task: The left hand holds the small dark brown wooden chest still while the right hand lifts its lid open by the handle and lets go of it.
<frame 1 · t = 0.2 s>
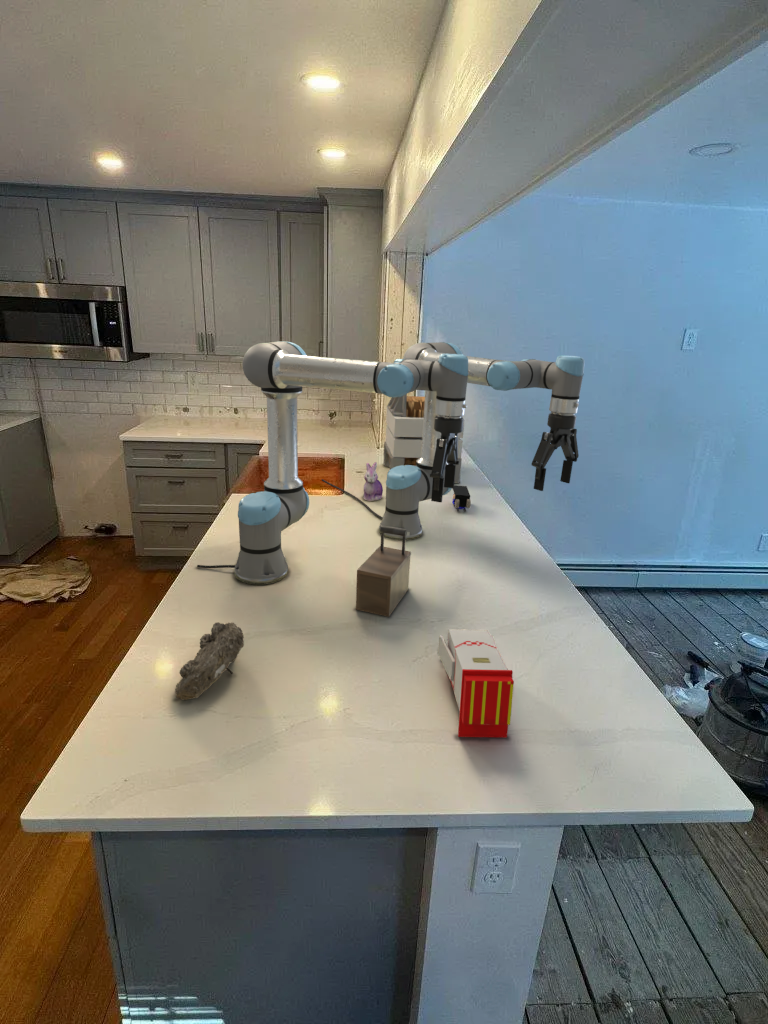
left hand: (442, 494, 154), 28 cm above the counter, tool pointing down, fingers open, 13 cm apart
right hand: (551, 485, 166), 28 cm above the counter, tool pointing down, fingers open, 13 cm apart
fossil: (215, 672, 121), on the counter
chest: (383, 599, 155), on the counter
figurine character: (460, 507, 229), on the counter
toy: (469, 691, 119), on the counter
figurine: (372, 498, 236), on the counter
lid: (385, 549, 150), point 15 cm above the counter, hinge at 0.0°
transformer: (419, 473, 275), on the counter
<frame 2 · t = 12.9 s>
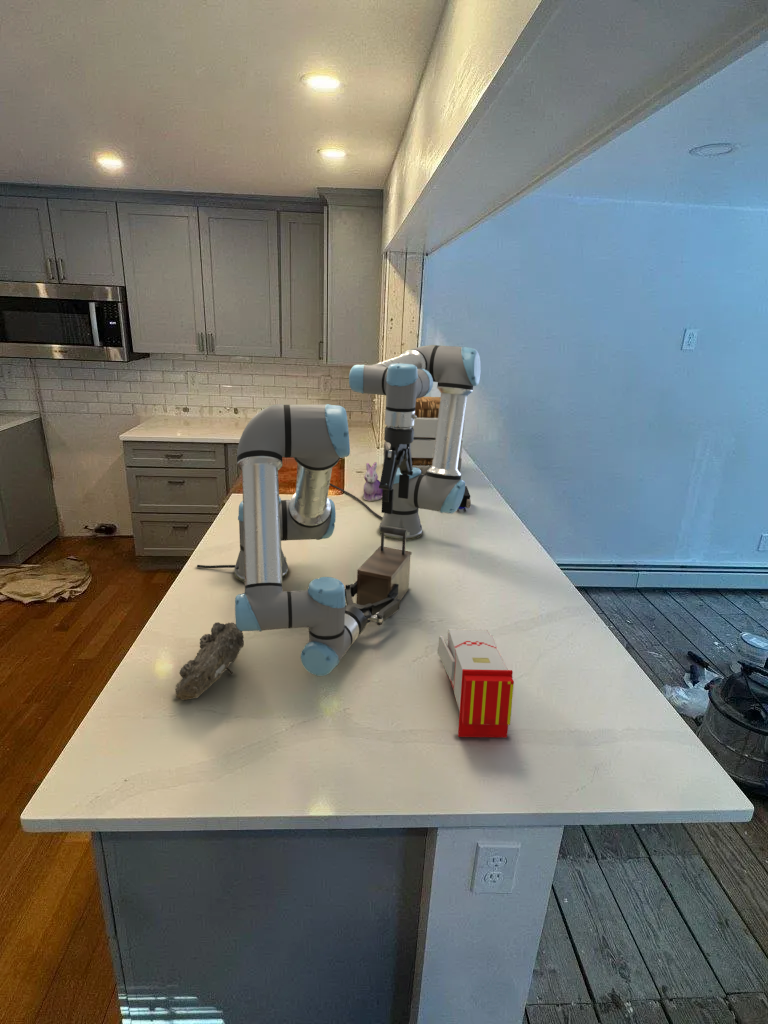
left hand: (378, 585, 149), 6 cm above the counter, tool horizontal, fingers closed on chest, 9 cm apart
right hand: (395, 505, 152), 25 cm above the counter, tool pointing down, fingers open, 13 cm apart
chest: (383, 599, 155), on the counter, touching left hand
everything else where it was.
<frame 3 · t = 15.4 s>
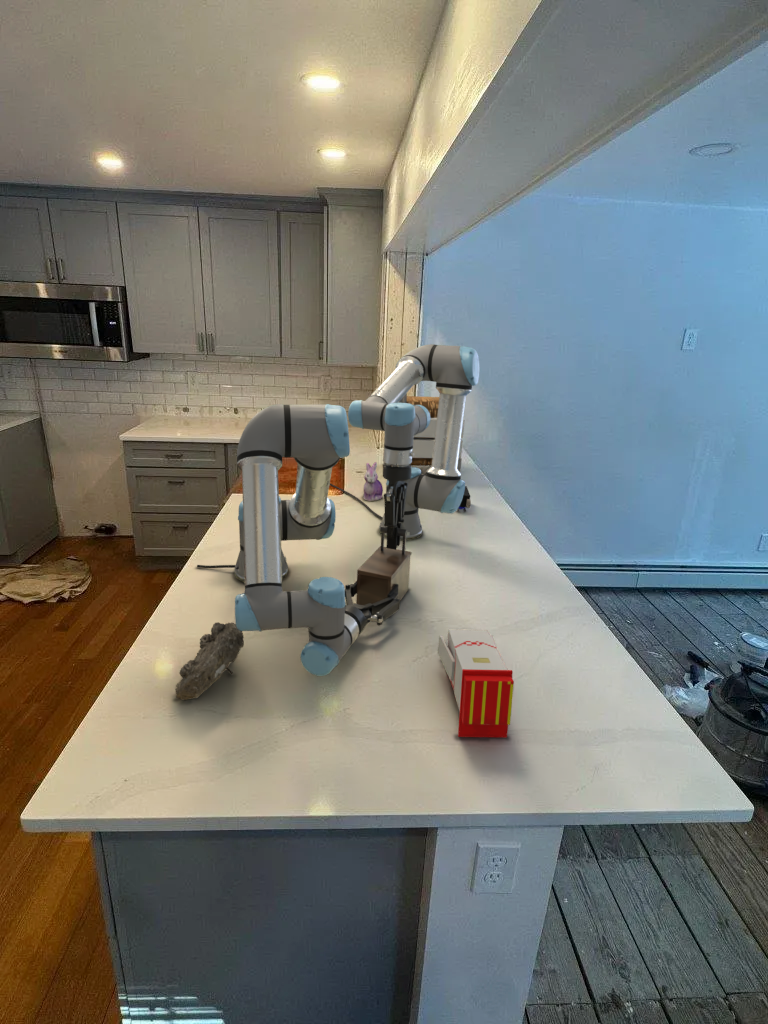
left hand: (378, 585, 149), 6 cm above the counter, tool horizontal, fingers closed on chest, 9 cm apart
right hand: (393, 546, 156), 13 cm above the counter, tool pointing down, fingers closed on lid, 2 cm apart
chest: (383, 599, 155), on the counter, touching left hand
lid: (385, 549, 150), point 15 cm above the counter, hinge at -0.1°, touching right hand
everything else where it was.
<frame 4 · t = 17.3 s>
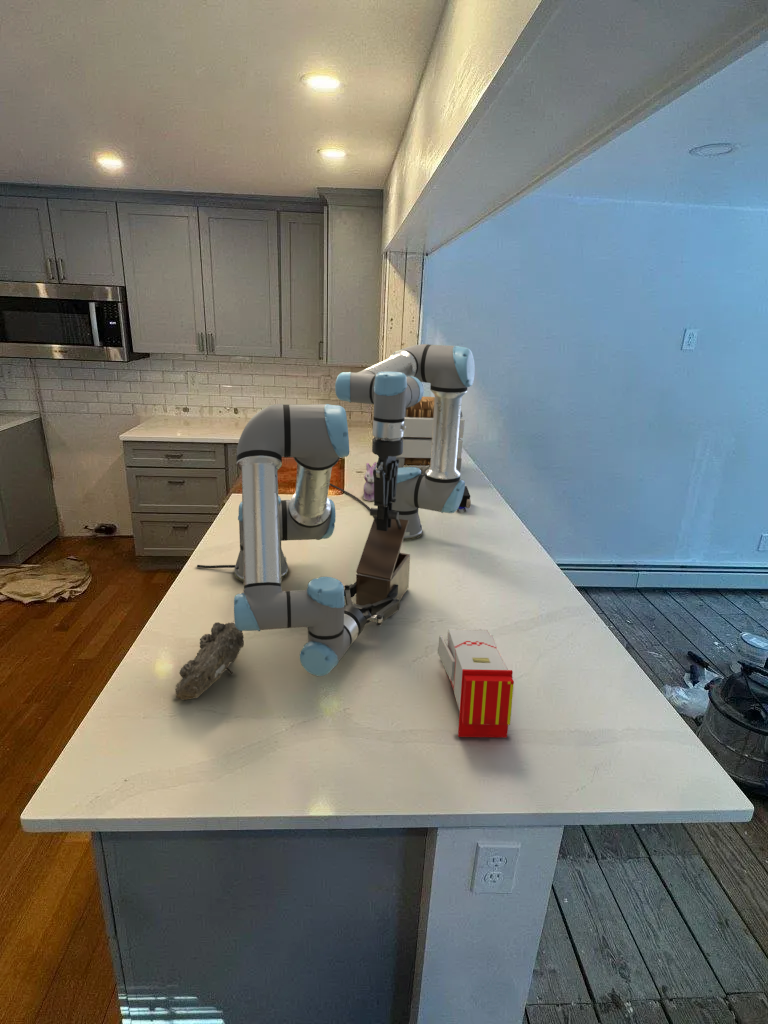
left hand: (378, 585, 149), 6 cm above the counter, tool horizontal, fingers closed on chest, 9 cm apart
right hand: (383, 528, 145), 22 cm above the counter, tool pointing down, fingers closed on lid, 2 cm apart
chest: (383, 598, 154), on the counter, touching left hand
lid: (380, 539, 144), point 19 cm above the counter, hinge at 38.5°, touching right hand
everything else where it was.
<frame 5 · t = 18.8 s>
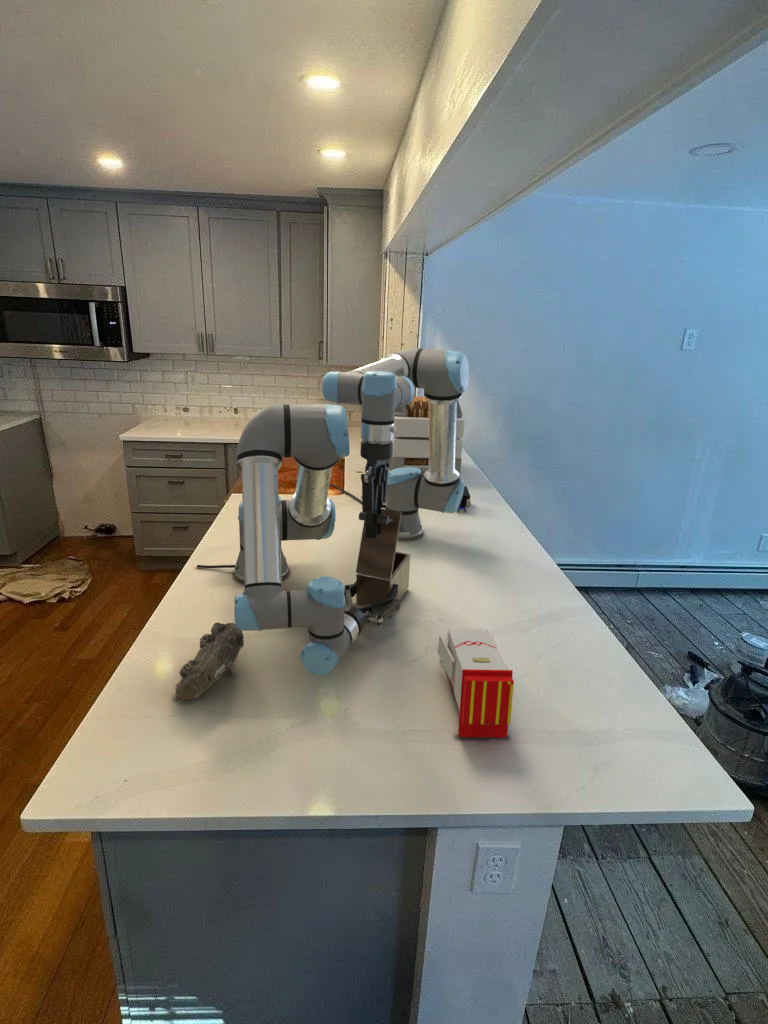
left hand: (378, 585, 149), 6 cm above the counter, tool horizontal, fingers closed on chest, 9 cm apart
right hand: (373, 535, 138), 23 cm above the counter, tool pointing down, fingers open, 2 cm apart
chest: (383, 598, 155), on the counter, touching left hand
lid: (374, 542, 140), point 20 cm above the counter, hinge at 66.5°
everything else where it was.
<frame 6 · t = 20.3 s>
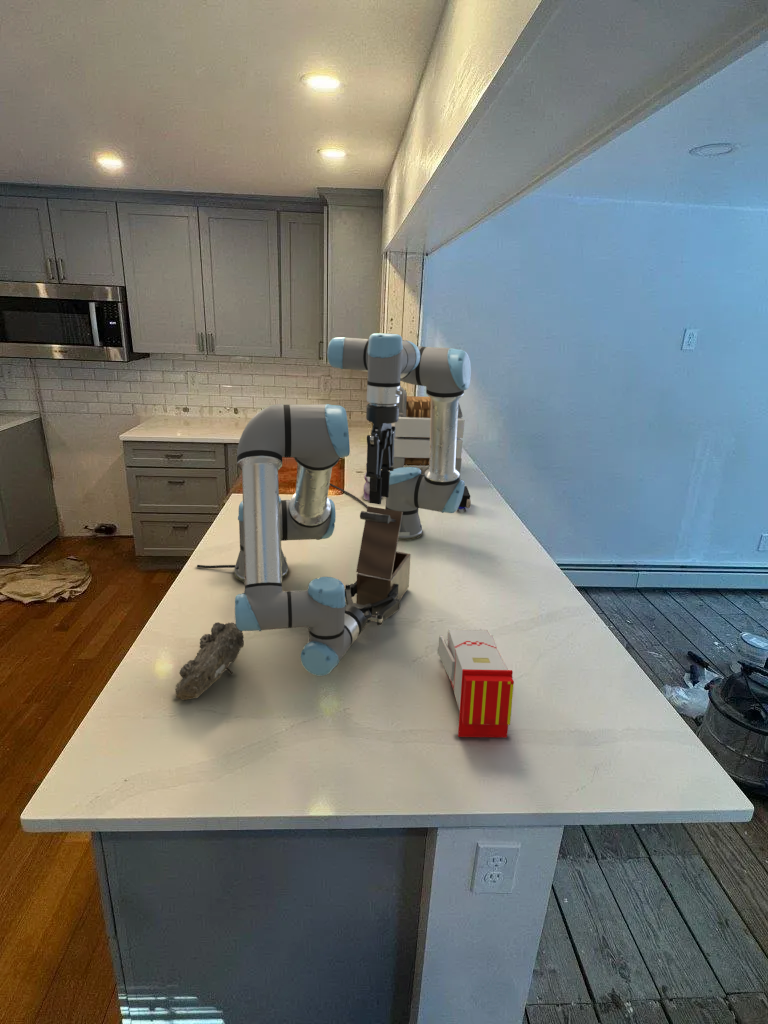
left hand: (378, 585, 149), 6 cm above the counter, tool horizontal, fingers closed on chest, 9 cm apart
right hand: (379, 499, 138), 31 cm above the counter, tool pointing down, fingers open, 5 cm apart
chest: (383, 597, 155), on the counter, touching left hand
lid: (374, 541, 140), point 20 cm above the counter, hinge at 64.7°
everything else where it was.
when the left hand's fingers open (6 cm above the counter, at t = 22.8 s): chest stays where it is, on the counter.
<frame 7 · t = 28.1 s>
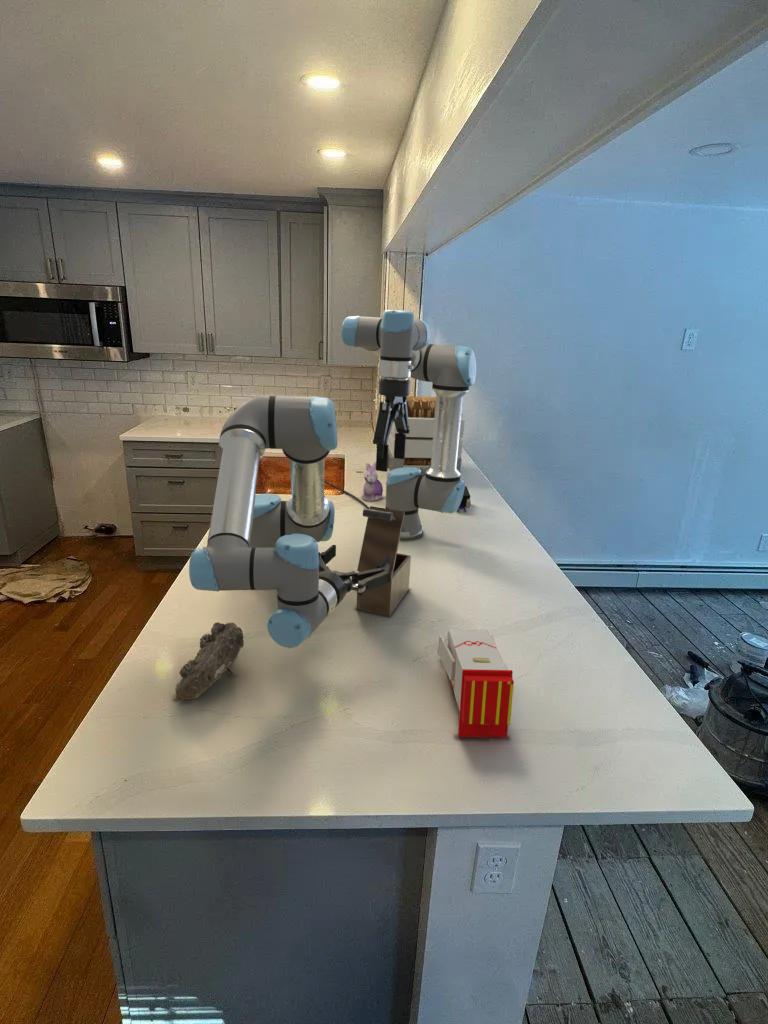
left hand: (361, 555, 132), 20 cm above the counter, tool horizontal, fingers open, 13 cm apart
right hand: (390, 464, 143), 38 cm above the counter, tool pointing down, fingers open, 13 cm apart
chest: (383, 598, 155), on the counter
lid: (376, 539, 141), point 20 cm above the counter, hinge at 62.6°
everything else where it was.
at the end: lid at +63° (first picture: +0°); the left hand is holding nothing; the right hand is holding nothing; chest tilted 0°; chest never tilted more than 3° during the clip; chest moved 0.3 cm from its start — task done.
